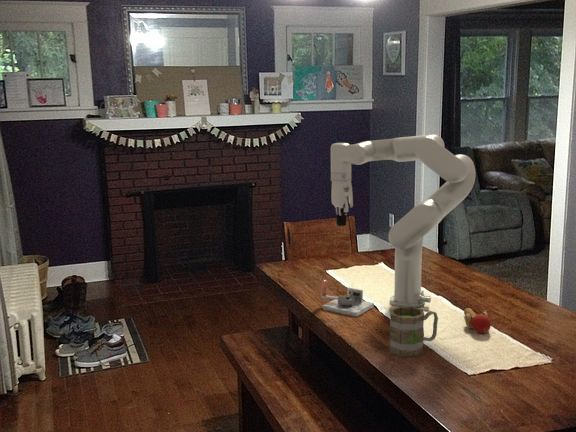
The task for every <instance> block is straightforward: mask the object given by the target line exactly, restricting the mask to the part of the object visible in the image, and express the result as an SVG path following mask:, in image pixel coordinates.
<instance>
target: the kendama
mask: <svg viewBox="0 0 576 432" xmlns="http://www.w3.org/2000/svg"><path fill="white" fill-rule="evenodd" d="M463 314H464V321H465V325H466V328H467V329H473V331H475V332H476V333H478V334H485V333H487V332H489V330H490V329H491V325H492V322H491V320H490V318H489V315H488V313H487V311H483V312H481V313H480V314H476V313H475V312H474V311H473V309H472V308H470V307H467V308H465V309H464V311H463Z"/></svg>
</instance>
